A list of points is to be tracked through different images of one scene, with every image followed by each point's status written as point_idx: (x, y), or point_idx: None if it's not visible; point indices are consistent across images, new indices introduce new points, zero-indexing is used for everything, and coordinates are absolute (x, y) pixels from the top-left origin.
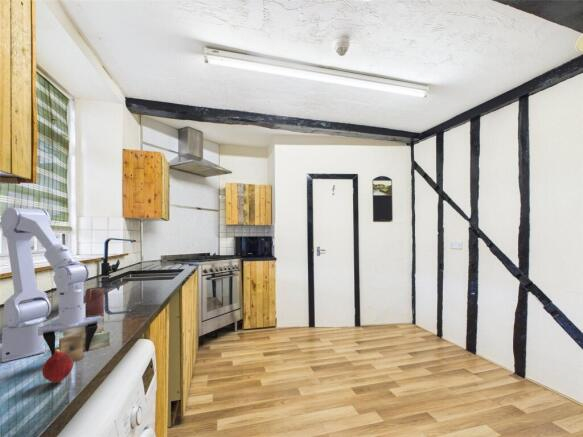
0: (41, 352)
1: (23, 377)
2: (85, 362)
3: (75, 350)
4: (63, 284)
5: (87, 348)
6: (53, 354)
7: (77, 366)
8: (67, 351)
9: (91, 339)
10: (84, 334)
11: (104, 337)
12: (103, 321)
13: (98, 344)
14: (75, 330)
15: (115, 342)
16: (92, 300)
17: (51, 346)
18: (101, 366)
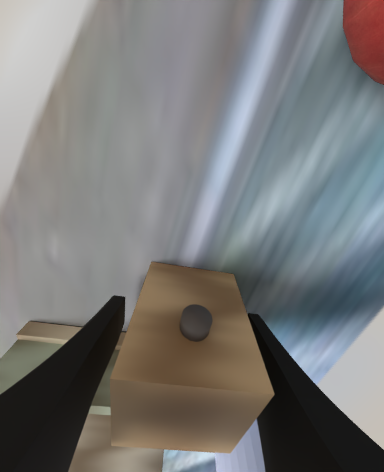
0: None
1: (363, 267)
2: (152, 213)
3: (177, 305)
4: None
5: (113, 305)
6: (268, 334)
7: (195, 194)
8: (217, 316)
9: (60, 349)
10: (98, 430)
11: (19, 368)
12: None
13: (65, 340)
14: (120, 470)
15: (5, 328)
16: None
17: (310, 391)
18: (90, 39)
